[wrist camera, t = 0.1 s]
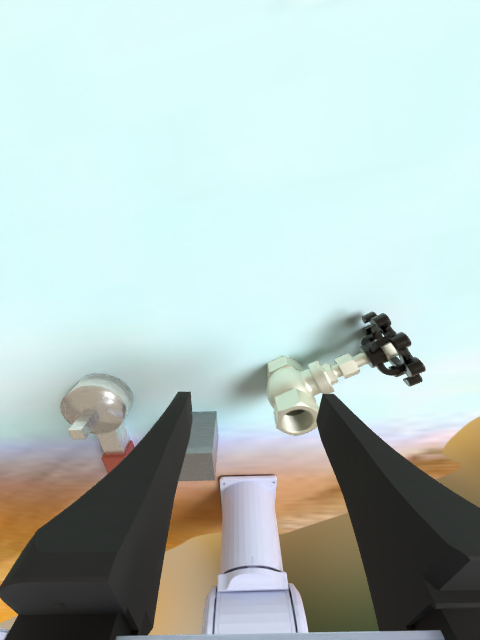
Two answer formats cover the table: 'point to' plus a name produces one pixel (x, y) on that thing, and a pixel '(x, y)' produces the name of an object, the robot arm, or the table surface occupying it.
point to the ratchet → (100, 415)
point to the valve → (335, 374)
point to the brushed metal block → (201, 448)
